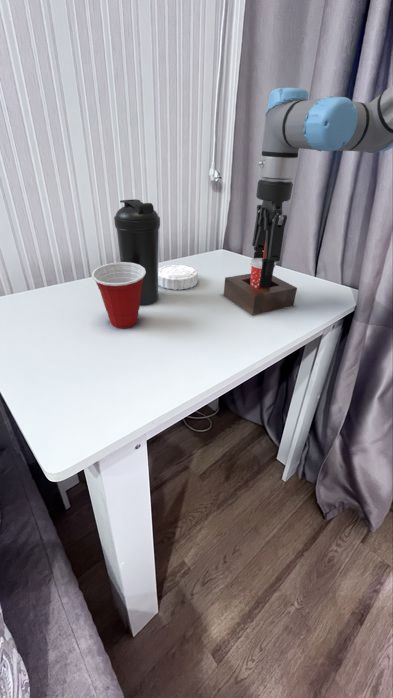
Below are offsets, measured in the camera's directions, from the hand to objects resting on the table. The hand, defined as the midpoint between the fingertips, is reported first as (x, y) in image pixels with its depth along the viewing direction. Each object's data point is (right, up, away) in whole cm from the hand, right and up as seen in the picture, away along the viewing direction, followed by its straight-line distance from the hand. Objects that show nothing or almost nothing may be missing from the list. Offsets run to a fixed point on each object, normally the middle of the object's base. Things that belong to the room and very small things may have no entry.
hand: (260, 281), depth 84 cm
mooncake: (-22, +2, +12) cm, 25 cm away
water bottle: (-30, -4, +1) cm, 31 cm away
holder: (0, -4, +3) cm, 5 cm away
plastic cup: (-32, -11, -10) cm, 36 cm away
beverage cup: (0, -4, +2) cm, 4 cm away
